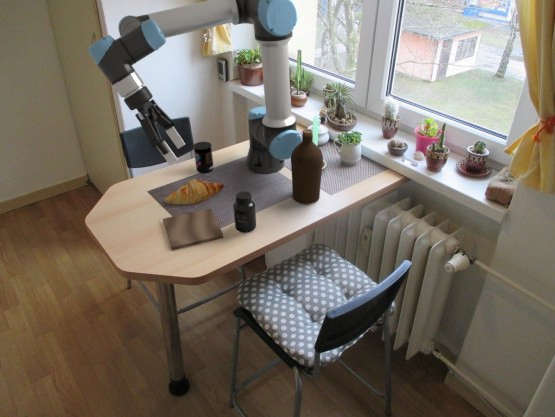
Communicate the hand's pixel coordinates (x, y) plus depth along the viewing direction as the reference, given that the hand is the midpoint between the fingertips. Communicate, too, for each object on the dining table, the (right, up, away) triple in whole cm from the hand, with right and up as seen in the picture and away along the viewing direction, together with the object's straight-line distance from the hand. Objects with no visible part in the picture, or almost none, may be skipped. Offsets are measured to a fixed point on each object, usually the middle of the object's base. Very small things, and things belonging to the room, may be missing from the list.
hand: (178, 154), depth 137 cm
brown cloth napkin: (+3, -23, +8) cm, 24 cm away
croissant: (+1, -13, +24) cm, 27 cm away
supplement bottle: (+20, -22, +9) cm, 31 cm away
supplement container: (+2, -1, +41) cm, 41 cm away
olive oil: (+40, -12, +23) cm, 48 cm away
